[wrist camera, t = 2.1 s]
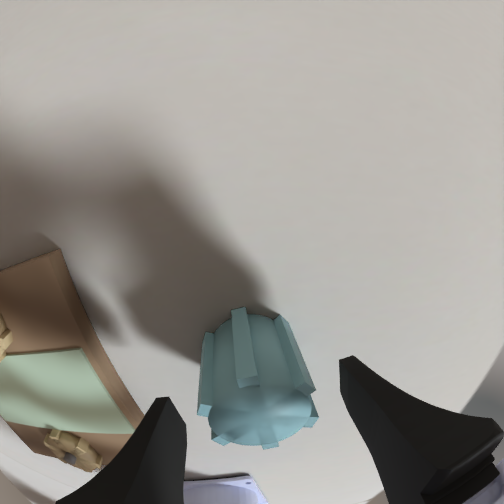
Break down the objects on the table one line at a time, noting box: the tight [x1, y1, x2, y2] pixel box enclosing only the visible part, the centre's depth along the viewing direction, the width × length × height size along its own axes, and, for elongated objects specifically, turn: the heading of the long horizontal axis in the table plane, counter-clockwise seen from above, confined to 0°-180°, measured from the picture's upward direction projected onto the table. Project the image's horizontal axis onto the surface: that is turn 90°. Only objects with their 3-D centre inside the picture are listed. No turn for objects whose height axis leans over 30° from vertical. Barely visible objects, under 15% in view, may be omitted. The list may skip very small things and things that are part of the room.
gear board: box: [0, 249, 144, 472], centre depth 13 cm, size 17×16×3 cm
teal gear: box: [197, 307, 319, 450], centre depth 12 cm, size 5×4×5 cm
